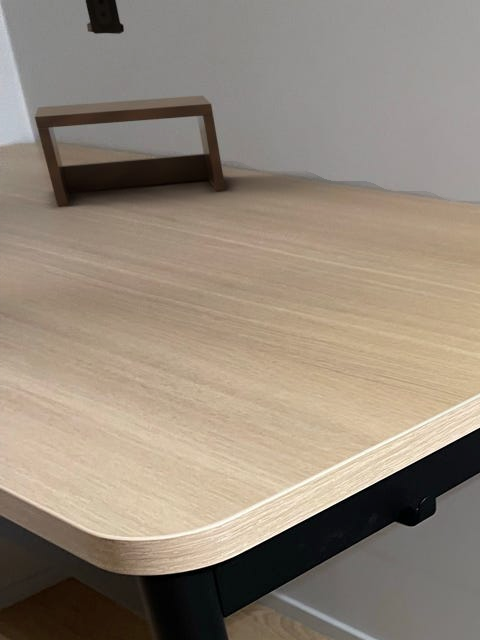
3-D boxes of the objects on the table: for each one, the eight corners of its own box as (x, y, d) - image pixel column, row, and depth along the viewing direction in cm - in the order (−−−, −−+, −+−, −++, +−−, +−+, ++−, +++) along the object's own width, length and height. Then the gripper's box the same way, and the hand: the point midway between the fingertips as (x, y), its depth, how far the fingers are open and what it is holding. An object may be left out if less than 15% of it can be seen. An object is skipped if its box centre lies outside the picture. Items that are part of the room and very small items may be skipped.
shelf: (57, 206, 119) (34, 116, 114) (59, 191, 127) (37, 107, 121) (225, 190, 124) (211, 103, 118) (217, 177, 132) (203, 95, 126)
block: (98, 37, 113) (94, 18, 111) (87, 35, 117) (83, 17, 116) (130, 35, 114) (126, 16, 113) (118, 33, 118) (114, 15, 117)
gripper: (30, -159, 111) (73, 29, 121) (23, -177, 97) (72, 37, 107) (100, -160, 113) (136, 26, 123) (102, -178, 99) (143, 33, 109)
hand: (106, 29), depth 115 cm, fingers closed on block, 6 cm apart
